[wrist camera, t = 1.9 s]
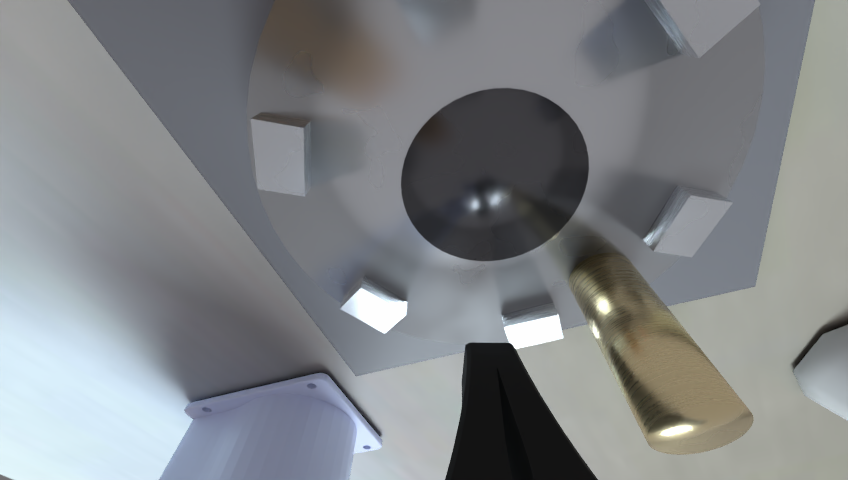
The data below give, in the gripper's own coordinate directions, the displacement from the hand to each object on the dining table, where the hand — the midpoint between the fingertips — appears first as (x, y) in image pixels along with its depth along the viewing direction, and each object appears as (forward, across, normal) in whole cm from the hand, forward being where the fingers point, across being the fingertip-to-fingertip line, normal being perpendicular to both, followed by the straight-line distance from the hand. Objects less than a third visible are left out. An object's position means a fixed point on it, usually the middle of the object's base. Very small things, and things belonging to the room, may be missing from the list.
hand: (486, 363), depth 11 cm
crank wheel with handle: (+4, 0, -5) cm, 6 cm away
